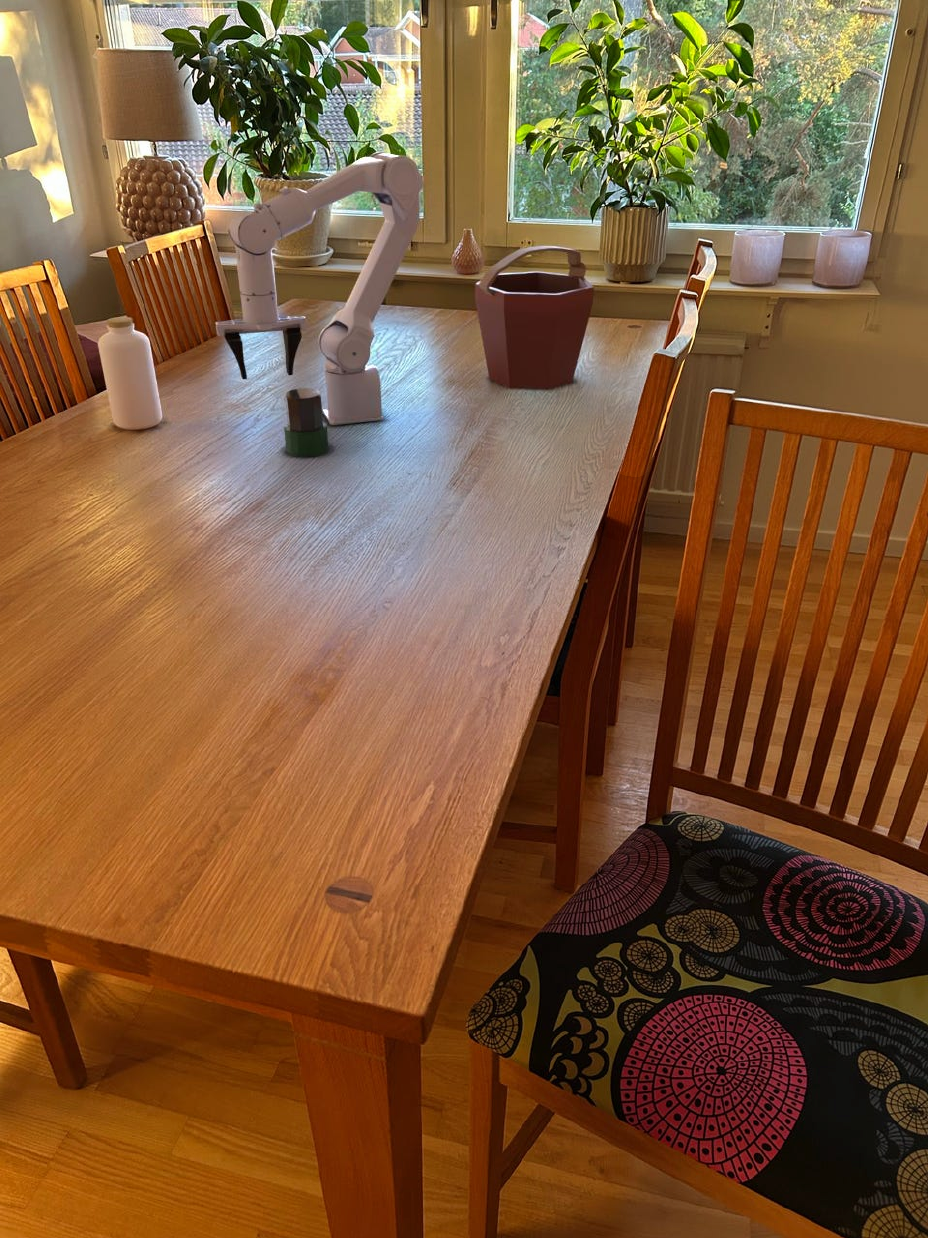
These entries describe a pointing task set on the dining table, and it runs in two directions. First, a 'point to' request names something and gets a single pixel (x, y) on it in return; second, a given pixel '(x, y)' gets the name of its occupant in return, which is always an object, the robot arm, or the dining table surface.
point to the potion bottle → (129, 375)
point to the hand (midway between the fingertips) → (267, 375)
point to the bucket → (533, 321)
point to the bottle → (306, 442)
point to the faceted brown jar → (304, 410)
